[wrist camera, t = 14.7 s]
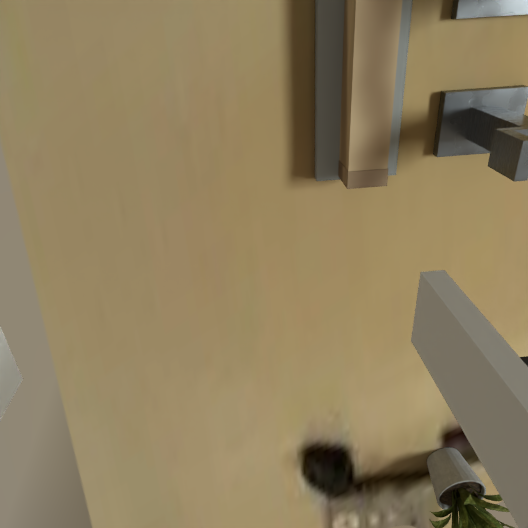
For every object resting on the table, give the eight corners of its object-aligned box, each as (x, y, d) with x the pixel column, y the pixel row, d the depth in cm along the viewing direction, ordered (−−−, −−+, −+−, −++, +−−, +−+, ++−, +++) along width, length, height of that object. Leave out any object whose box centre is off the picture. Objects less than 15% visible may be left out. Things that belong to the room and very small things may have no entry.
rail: (338, 176, 44) (347, 188, 41) (346, -78, 34) (359, -87, 31) (374, 173, 45) (386, 185, 41) (393, -81, 35) (411, -90, 31)
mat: (315, -82, 35) (318, -84, 34) (416, -87, 35) (421, -90, 34) (314, 177, 45) (316, 181, 45) (392, 171, 46) (395, 174, 45)
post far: (432, 154, 45) (501, 200, 34) (441, 91, 42) (520, 119, 31) (509, 148, 46) (603, 192, 34) (523, 85, 43) (630, 111, 31)
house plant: (389, 496, 73) (429, 613, 59) (390, 439, 66) (436, 556, 52) (475, 482, 73) (536, 595, 59) (485, 425, 66) (557, 537, 52)
